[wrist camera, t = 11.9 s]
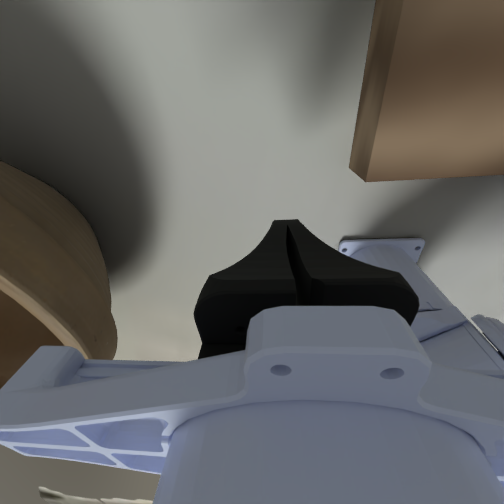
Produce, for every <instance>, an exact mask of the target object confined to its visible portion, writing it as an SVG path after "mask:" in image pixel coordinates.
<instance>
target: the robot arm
mask: <svg viewBox="0 0 504 504" xmlns="http://www.w3.org/2000/svg"><path fill="white" fill-rule="evenodd" d="M424 245H425V241H424V240H423V239H422V238H401V239H366V240H343V241H341V242H340V244H339V249H338V251H337V250H335V249H333V248H332V247H330V246H328V245H327V244H325V243H324V242H322V241H321V240H320V239H318V238H317V237H316V236H315V235H313V234H312V233H311V232H310V231H309V230H308V229H307V228H306V227H305V226H304V225H303V224H302V223H301V222H300V221H299V220H298V219H293V220H274V221H273V222H272V225H271V227H270V229H269V231H268V232H267V234H266V236H265V237H264V238H263V240H262V241H261V242H260V243H259V245H258V246H257V247H256V248H255V249H254V250H253V251H252V252H251V253H250V254H248V255H247V256H246V257H244V258H243V259H242V260H240V261H239V262H237V263H235V264H234V265H232V266H230V267H228V268H226V269H224V270H222V271H219V272H217V273H215V274H212V275H210V276H209V277H208V279H207V281H206V283H205V284H204V286H203V288H202V290H201V293H200V295H199V298H198V301H197V304H196V306H195V310H194V319H195V323H196V326H197V328H198V331H199V334H200V337H201V340H202V346H201V350H200V353H199V357H198V359H197V360H192V361H187V362H170V361H132V360H94V359H85V358H84V356H83V355H82V353H81V352H80V351H79V350H77V349H76V348H73V347H70V346H40V347H39V349H38V350H37V351H36V352H35V353H34V354H33V355H32V356H31V357H30V358H29V359H28V360H27V361H26V362H25V363H24V364H23V366H22V367H21V368H20V369H19V370H18V371H17V372H16V373H15V374H14V375H13V376H12V377H11V378H10V379H9V380H8V382H7V383H6V384H5V385H4V386H3V387H2V388H1V389H0V444H2V445H4V446H6V447H8V448H10V449H12V450H14V451H16V452H18V453H20V454H23V455H25V456H35V457H46V458H56V459H64V460H72V461H79V462H86V463H92V464H99V465H106V466H112V467H118V468H124V469H131V470H136V471H142V472H148V473H154V474H160V475H161V477H160V480H159V484H158V487H157V491H156V494H155V498H154V501H153V504H504V324H503V323H502V322H500V321H499V320H497V319H494V318H490V317H486V318H485V317H484V316H483V315H480V314H478V315H475V316H474V317H472V318H471V319H472V320H473V321H474V323H475V324H476V325H477V326H478V327H479V328H480V329H481V330H482V331H483V334H484V335H485V337H486V338H487V339H488V340H489V341H490V342H491V343H492V344H493V345H494V347H495V348H496V349H497V350H498V351H497V350H496V349H495V348H494V347H493V346H492V345H491V344H490V343H489V342H488V341H487V339H486V338H485V337H484V336H483V335H482V334H481V333H480V332H479V331H478V330H477V329H476V328H475V326H474V325H473V324H472V323H471V322H470V321H469V320H468V319H467V318H466V317H465V316H464V315H463V314H462V313H461V312H460V311H459V310H458V308H457V307H456V306H454V305H453V304H452V303H451V302H450V301H449V300H448V299H447V297H446V296H445V295H444V294H443V293H442V292H441V291H440V290H439V289H438V287H437V286H436V285H435V284H434V283H433V282H432V281H431V280H430V278H429V277H428V276H427V275H426V274H425V273H424V272H423V271H422V270H421V268H420V267H419V266H418V265H417V261H418V259H419V256H420V254H421V252H422V249H423V247H424ZM417 246H418V248H416V247H417ZM343 248H346V249H345V250H342V249H343Z"/></svg>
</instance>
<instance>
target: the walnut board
mask: <svg viewBox="0 0 504 504" xmlns="http://www.w3.org/2000/svg"><path fill="white" fill-rule="evenodd" d="M349 168H350V169H351V170H352V171H353V172H354V173H356V174H357V175H358V176H359V177H360V178H361V179H363V180H364V181H365V182H377V181H395V180H414V179H433V178H451V177H470V176H488V175H504V0H376V3H375V9H374V15H373V21H372V28H371V34H370V40H369V46H368V52H367V59H366V65H365V71H364V77H363V83H362V90H361V96H360V102H359V108H358V114H357V121H356V127H355V133H354V139H353V145H352V152H351V158H350V164H349Z"/></svg>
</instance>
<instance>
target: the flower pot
mask: <svg viewBox="0 0 504 504" xmlns="http://www.w3.org/2000/svg"><path fill="white" fill-rule="evenodd" d="M117 338H118V337H117V329H116V325H115V321H114V318H113V316H112V313H111V293H110V287H109V279H108V274H107V270H106V266H105V262H104V259H103V256H102V253H101V250H100V248H99V244H98V241H97V238H96V236H95V234H94V231H93V230H92V228H91V227H90V225H89V223H88V222H87V220H86V219H85V218H84V217H83V215H82V214H81V213H80V212H79V210H78V209H77V208H76V207H75V206H74V205H73V204H72V203H71V202H69V201H68V200H67V199H66V198H65V197H64V196H62V195H61V194H60V193H58V192H57V191H56V190H54V189H53V188H52V187H50V186H49V185H47V184H45V183H44V182H42V181H40V180H38V179H37V178H35V177H33V176H30V175H28V174H26V173H24V172H22V171H20V170H18V169H16V168H15V167H13V166H10V165H8V164H6V163H4V162H2V161H0V389H1V388H2V387H3V386H4V385H5V384H6V383H7V382H8V380H9V379H10V378H11V377H12V376H13V375H14V374H15V373H16V372H17V371H18V370H19V369H20V368H21V367H22V366H23V364H24V363H25V362H26V361H27V360H28V359H29V358H30V357H31V356H32V355H33V354H34V353H35V352H36V351H37V350H38V349H39V347H40V346H70V347H73V348H76V349H77V350H79V351H80V352H81V353H82V355H83V356H84V358H85V359H94V360H113V358H114V356H115V353H116V349H117Z"/></svg>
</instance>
